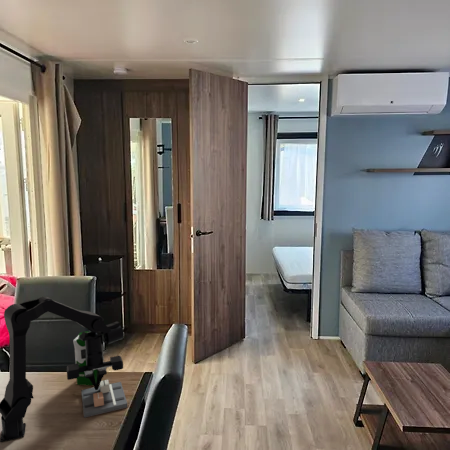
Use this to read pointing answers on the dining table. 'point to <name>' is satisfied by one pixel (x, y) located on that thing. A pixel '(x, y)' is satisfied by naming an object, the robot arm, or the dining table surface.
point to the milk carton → (82, 361)
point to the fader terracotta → (98, 399)
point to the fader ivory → (104, 386)
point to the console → (111, 400)
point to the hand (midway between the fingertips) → (96, 389)
